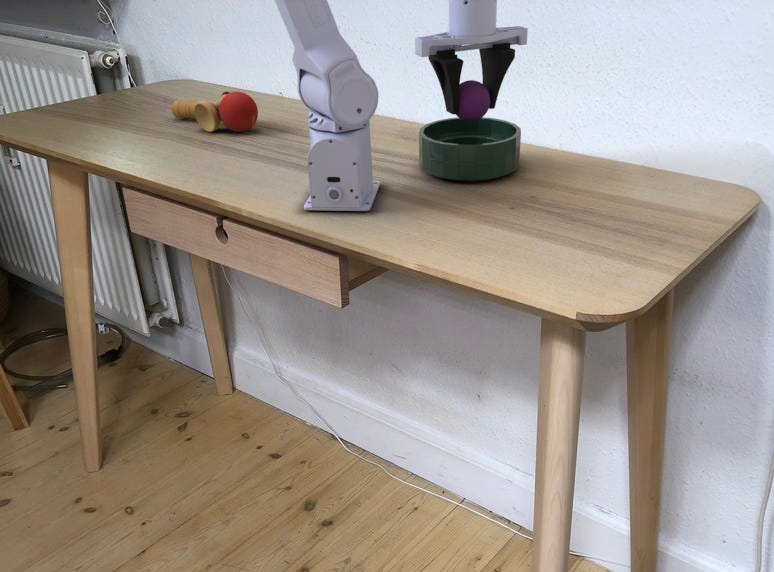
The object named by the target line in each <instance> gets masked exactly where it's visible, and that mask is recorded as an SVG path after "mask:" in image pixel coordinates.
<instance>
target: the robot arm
mask: <svg viewBox="0 0 774 572" xmlns="http://www.w3.org/2000/svg"><path fill="white" fill-rule="evenodd" d="M274 3H275V5H276V7H277V10H278V12H279V14H280V17H281V20H282V21H283V25H284V26H285V28H286V31H287V33H288V36H289V38H290V40H291V43H292V45H293V48H294V50H293V54H292V61H291V62H292V64H293V66H294V69H295V72H296V76H297V78H296V79H297V82H296V84H297V85H296V89H297V94H298V97H299V99H300V102H302V104H303V105H304V106H305V107H306V108H307V109H308V115H307V117H308V119H307V123H308V135H309V141H310V142H309V143H310V149H309V151H308V154H307V159H306V163H307V173H308V174H307V175H308V183H309V184H308V186H309V194H310V195H309V197H308V198H307V199H306V201H305V203H304V205H303V210H304V211H323V212H324V211H327V212H328V211H329V212H330V211H331V212H335V211H336V212H369V211H370V210H371V209H372V206H373V204H374V201H375V199H376V196H377V194H378V191H379V188H380V186H381V181H380V180H374V179H373V178H374V177H373V160H372V159H373V158H372V157H373V156H372V141H371V140H372V139H371V123H370V121H371V119H372V118H373V116H374V115H375V113H376V111H377V108H378V105H379V98H380V97H379V90H378V86H377V84H376V82H375V79H374V78H373V77H372V76H371V75H370V74H369V73H367V72H366V70H365V69H364V68H363V67H362V65H361V63H360V61H359V58H358V55H357V54H356V53H355V51H354V50H353V49H352V47H351V46H350V44H349V43H348V42H347V41H346V39H344V37H343V36H342V34H341V33H340V30H339V27H338V25H337V23H336V19H335V16H334V14H333V12H332V9H331V7H330V3H329V1H328V0H274ZM497 7H498V0H448V31H445V32H440V33H435V34H431V35H426V36H425V35H424V36H418V37H415V38H414V47H415V48H414V51H415V52H414V53H415V56H418V57H420V58H428V61H429V63H430V65H431V67H432V69H433V71H434V73H435V75H436V77H437V80H438V82H439V85H440V88H441V92H442V95H443V101H444V105H445V109H446V111H445V112H447V113H449V114H451V115H456V114H458V111H459V85H460V84H461V83H460V82H461V77H462V76H461V75H462V70H463V65H464V60H463V59H461V58H459V57H458V54H456V53H458V52H466V51H473V50H478V51H479V57H480V64H481V75H482V77H481V78H482V82H481V83H482V84H483V85H484V86H485V87H486V88H487V90H488V91H489V94H490V106H489V109H488V110H493V109H495V108H496V104H497V101H498V97H499V93H500V90H501V86H502V84H503V81H504V79H505V76H506V75H507V73H508V70H509V69H510V66H511V65H512V63H513V62H514V60H515V57H516V49H514V48H512V47H511V46H515V45H517V46H525V45H528V30H529V29H528V27H525V26H521V25H517V26H516V25H515V26H498V27H497V12H498V11H497V10H498V8H497Z"/></svg>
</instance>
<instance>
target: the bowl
mask: <svg viewBox="0 0 774 572" xmlns="http://www.w3.org/2000/svg"><path fill="white" fill-rule="evenodd" d="M521 140H522V128H521V127H519V125H517V124H516V123H513V122H511V121H508V120H505V119H499V118H494V117H484V116H483V117H482V118H481V119H479V120H476V121H472V122H469V121H464V120H462V119H460V118H459V117H449V118H444V119H443V118H442V119H438V120H434V121H431V122H429V123H426V124H424V125H423V126H422V127H420V128H419V132H418V163H419V164H418V165H419V167H420V169H421V170H422V171H423V172H425V173H427V174H429V175H431V176H434V177H438V178H441V179H444V180H449V181H454V182H455V181H456V182H483V181H489V180H494V179H497V178H499V177H505V176H508V175H509V174H511V173H513V172H515V171H516V170H517V169H518V168H519V167H520V161H521V160H520V158H521Z"/></svg>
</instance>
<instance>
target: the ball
mask: <svg viewBox="0 0 774 572" xmlns="http://www.w3.org/2000/svg"><path fill="white" fill-rule="evenodd" d="M489 106H490V94H489V91H488V90H487V88H486V87H485V86H484V85H483V84H482V82H481V81H478V80H473V79H468V80H465V81H462V82H461V83H460V85H459V111H458V114H455V116H456V118H458V117H459V118H460V119H462V120H464V121H469V122H472V121H476V120H479V119H481V118H482V117H484V116H485V115H486V114H487V113H488V111H489V110H490V109H489Z"/></svg>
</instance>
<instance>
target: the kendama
mask: <svg viewBox="0 0 774 572" xmlns="http://www.w3.org/2000/svg"><path fill="white" fill-rule="evenodd" d="M257 105H258V104H257V103H256V102H255V99H254V98H252V97H251V96H250V95H249V94H247V93H246V92H243V91H235V90H234V89H227V90H224V91H223V92H222V94H221V96H220V99H219V100H217V101H216V102H210V101H208V100H205V99H202V100H199V101H191V100H190V101H189V100H183V99H176V100H174V101H173V102H172V104H171V113H172V115H173V116H174V117H175V119H178V120H179V119H190V118H195V120H196V121H197V123H198V125H199V126H200V127H201V128H202V129H203V130H205V132H208V133H212V132H215V131H217V130H219V128H220V127H221V122H222V124H223V125H224V126H225V127H226V128H227V129H229V130H231V131H232V132H238V133H241V132H243V133H244V132H246V131H250V130H251V129H253V127H254V126H255V125H256V123H257V120H258V117H259V109H258V106H257Z"/></svg>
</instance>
